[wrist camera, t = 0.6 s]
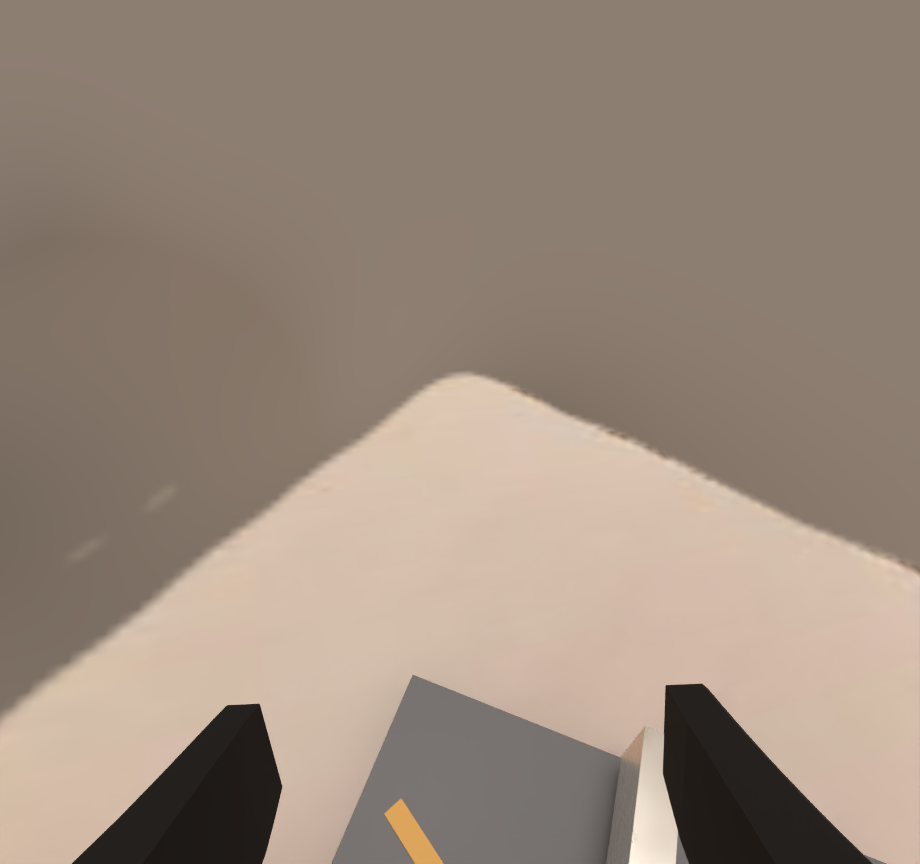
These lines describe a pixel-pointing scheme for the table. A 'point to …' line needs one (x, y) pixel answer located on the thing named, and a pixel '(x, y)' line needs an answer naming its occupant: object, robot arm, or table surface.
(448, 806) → the dial plate
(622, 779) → the dial
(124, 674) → the table surface
